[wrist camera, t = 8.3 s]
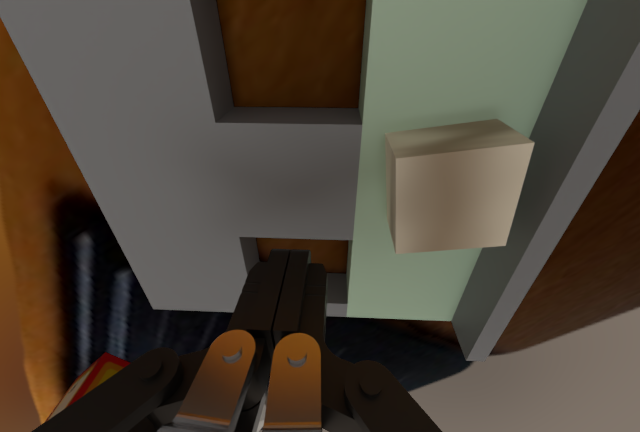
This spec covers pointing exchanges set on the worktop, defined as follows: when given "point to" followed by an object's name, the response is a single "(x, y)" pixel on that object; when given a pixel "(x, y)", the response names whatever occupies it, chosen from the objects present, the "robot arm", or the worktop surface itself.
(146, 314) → the worktop surface
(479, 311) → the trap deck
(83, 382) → the baking soda box
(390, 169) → the birch block
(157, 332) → the worktop surface
